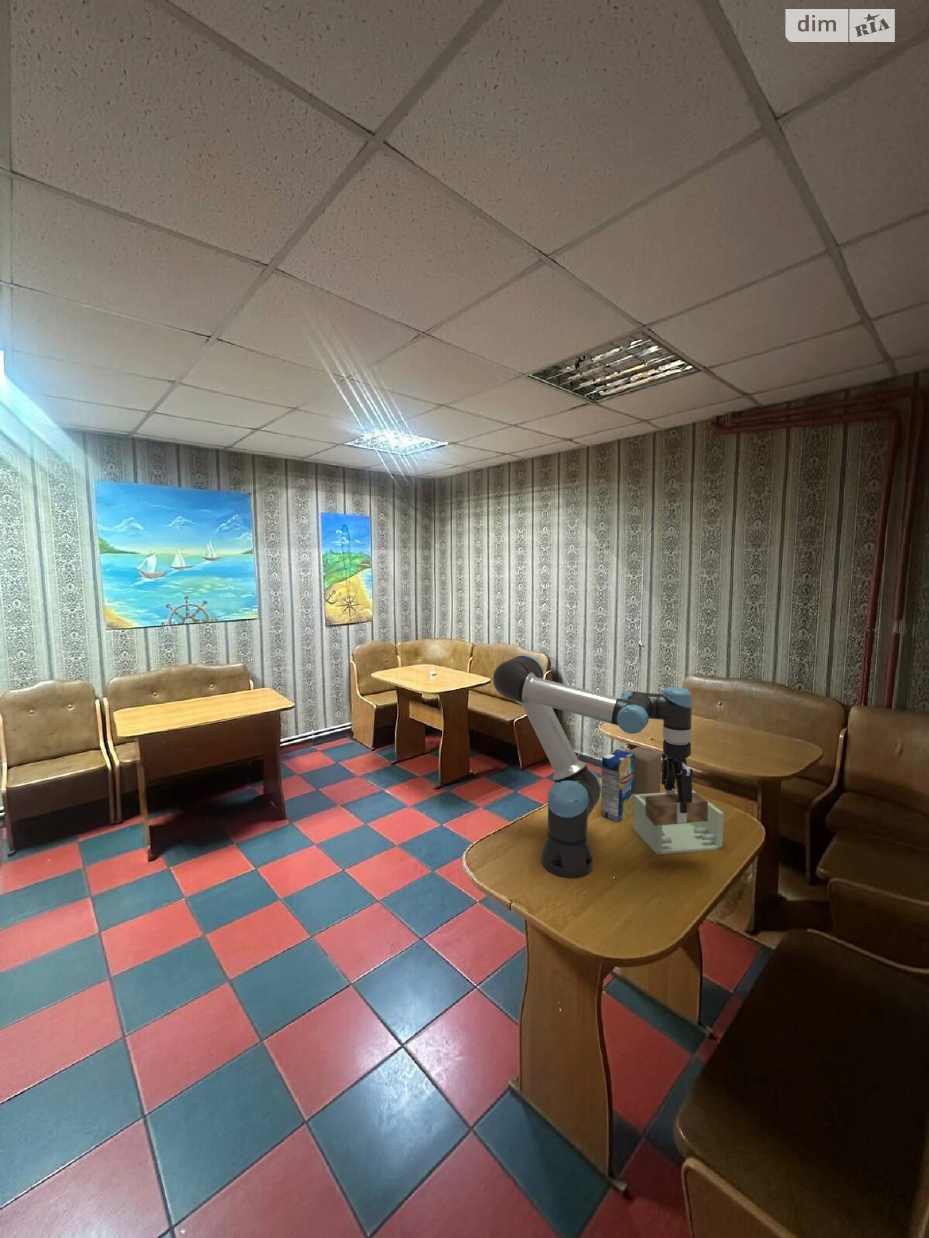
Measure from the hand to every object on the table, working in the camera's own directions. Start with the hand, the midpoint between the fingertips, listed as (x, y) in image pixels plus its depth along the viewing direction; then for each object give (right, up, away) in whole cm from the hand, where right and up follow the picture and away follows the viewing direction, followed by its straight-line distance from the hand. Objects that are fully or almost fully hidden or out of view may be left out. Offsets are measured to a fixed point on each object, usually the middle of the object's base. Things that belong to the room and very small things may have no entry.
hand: (675, 816), depth 147 cm
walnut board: (0, -1, 0) cm, 1 cm away
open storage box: (+7, -14, +16) cm, 23 cm away
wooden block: (+5, -11, +41) cm, 43 cm away
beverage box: (-7, -12, +33) cm, 36 cm away
